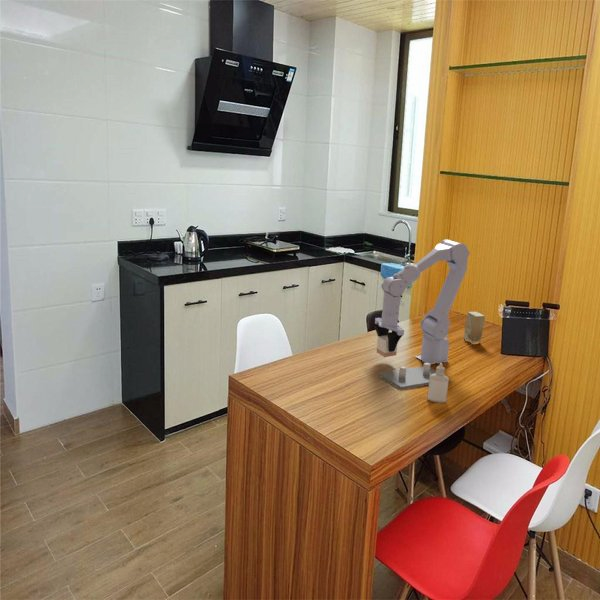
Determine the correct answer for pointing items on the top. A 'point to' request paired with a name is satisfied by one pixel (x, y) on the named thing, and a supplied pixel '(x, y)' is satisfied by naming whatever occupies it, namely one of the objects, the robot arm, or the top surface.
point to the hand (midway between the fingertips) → (386, 348)
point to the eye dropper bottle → (438, 385)
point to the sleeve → (384, 347)
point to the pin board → (409, 376)
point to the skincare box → (474, 327)
